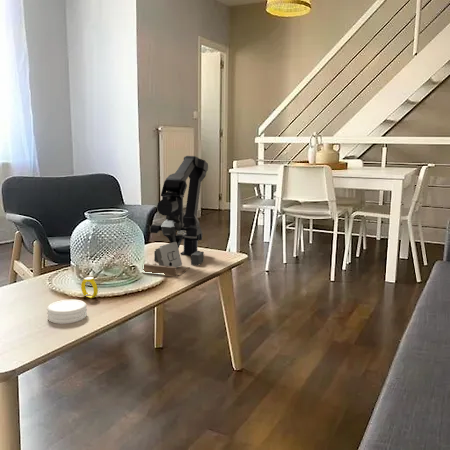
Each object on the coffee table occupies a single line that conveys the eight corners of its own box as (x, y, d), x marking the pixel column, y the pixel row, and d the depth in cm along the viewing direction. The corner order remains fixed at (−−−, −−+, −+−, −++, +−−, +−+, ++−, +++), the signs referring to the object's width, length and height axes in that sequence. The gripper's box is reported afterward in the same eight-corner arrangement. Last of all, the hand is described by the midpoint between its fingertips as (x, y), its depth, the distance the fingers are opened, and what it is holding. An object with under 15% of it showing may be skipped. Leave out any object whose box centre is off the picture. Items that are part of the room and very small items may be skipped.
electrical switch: (166, 272, 173) (164, 246, 172) (155, 271, 176) (153, 246, 175) (182, 266, 181) (180, 241, 180) (171, 265, 184) (169, 241, 183)
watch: (79, 297, 146) (78, 277, 145) (87, 294, 148) (85, 275, 148) (92, 300, 143) (91, 280, 142) (100, 297, 145) (98, 278, 144)
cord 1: (160, 257, 194) (160, 247, 193) (167, 258, 193) (167, 248, 192) (154, 261, 188) (154, 251, 187) (161, 262, 187) (161, 251, 186)
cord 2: (196, 261, 190) (196, 251, 189) (203, 261, 189) (203, 251, 188) (191, 264, 184) (191, 254, 183) (198, 265, 183) (198, 255, 183)
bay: (153, 264, 183) (153, 256, 183) (190, 267, 179) (190, 259, 179) (139, 272, 172) (139, 264, 171) (177, 276, 168) (177, 268, 167)
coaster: (73, 308, 137) (72, 296, 136) (94, 317, 130) (94, 304, 130) (40, 318, 129) (39, 305, 128) (61, 327, 123) (60, 314, 122)
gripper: (142, 213, 176) (143, 254, 179) (191, 216, 171) (191, 259, 174) (155, 208, 186) (156, 247, 189) (201, 211, 181) (201, 251, 184)
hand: (175, 251), depth 184 cm, fingers closed
